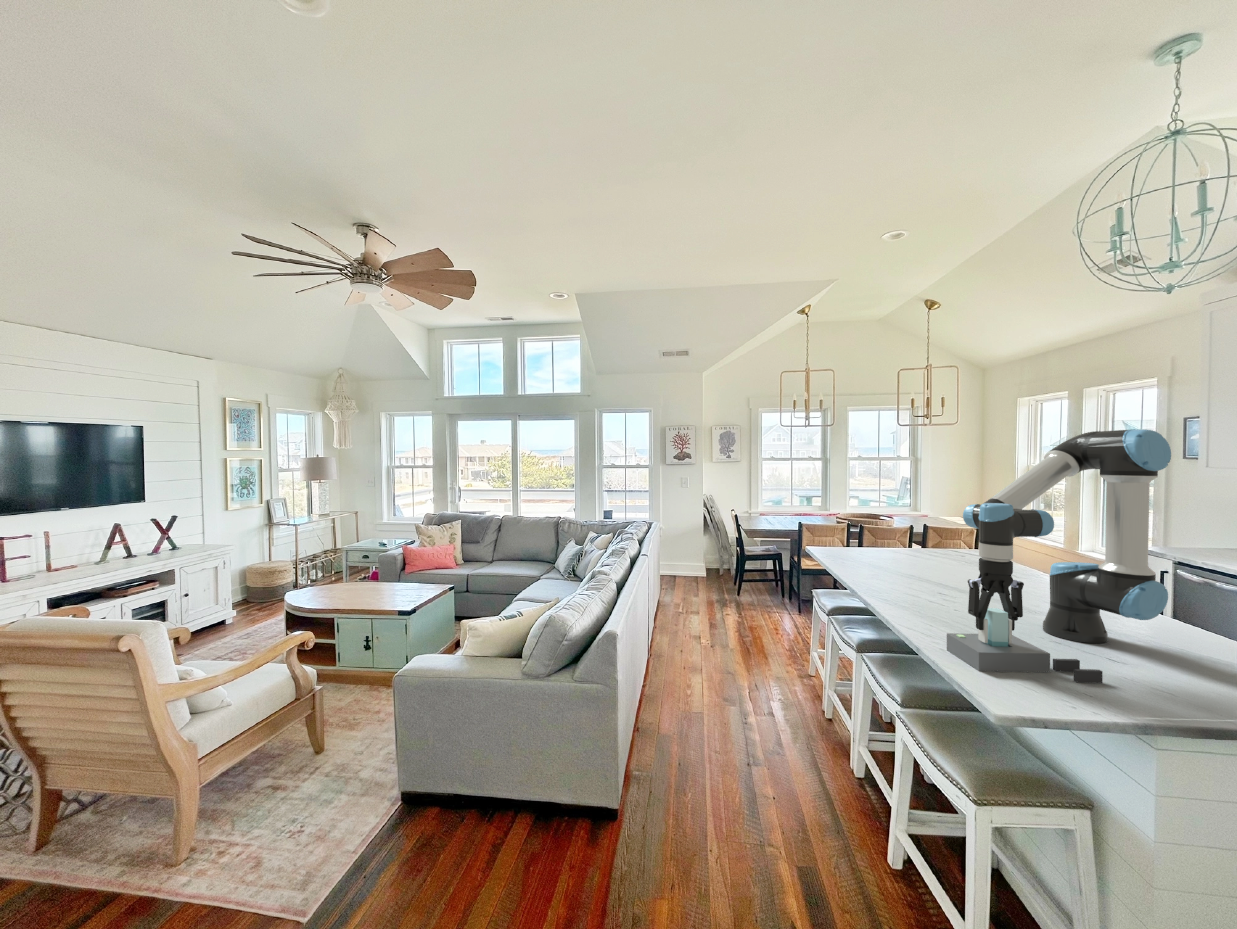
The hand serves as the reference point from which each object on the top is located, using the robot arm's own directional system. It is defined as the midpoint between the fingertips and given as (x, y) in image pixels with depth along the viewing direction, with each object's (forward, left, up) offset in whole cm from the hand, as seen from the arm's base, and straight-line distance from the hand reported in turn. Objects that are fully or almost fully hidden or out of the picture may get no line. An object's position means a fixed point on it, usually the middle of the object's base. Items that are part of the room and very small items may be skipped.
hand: (994, 641), depth 135 cm
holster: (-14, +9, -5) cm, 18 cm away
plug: (0, 0, -3) cm, 3 cm away
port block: (0, 0, -5) cm, 5 cm away
